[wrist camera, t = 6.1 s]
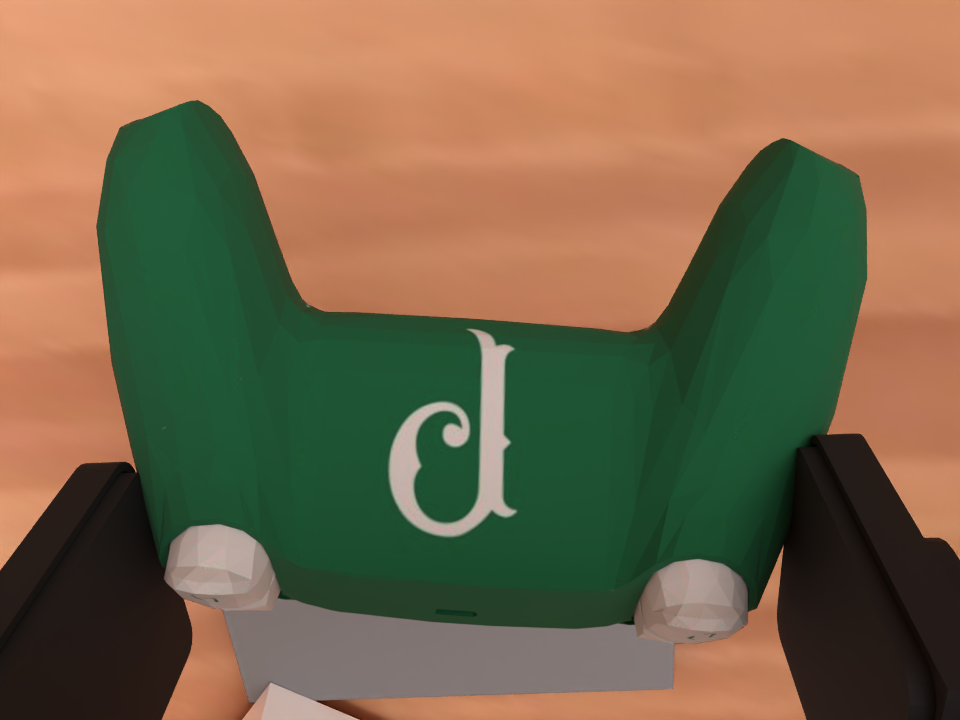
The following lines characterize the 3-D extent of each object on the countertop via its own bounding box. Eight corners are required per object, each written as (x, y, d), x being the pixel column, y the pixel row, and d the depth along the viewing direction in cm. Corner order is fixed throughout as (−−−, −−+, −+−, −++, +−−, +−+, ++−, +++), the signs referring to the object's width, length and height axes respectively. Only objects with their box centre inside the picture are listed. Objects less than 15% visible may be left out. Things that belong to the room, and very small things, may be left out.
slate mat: (674, 369, 29) (678, 382, 28) (670, 672, 35) (673, 689, 34) (173, 398, 30) (165, 411, 29) (254, 686, 36) (248, 702, 35)
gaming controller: (194, 209, 14) (126, 602, 13) (98, 66, 11) (-16, 593, 9) (782, 248, 14) (791, 652, 13) (888, 118, 11) (919, 662, 9)
